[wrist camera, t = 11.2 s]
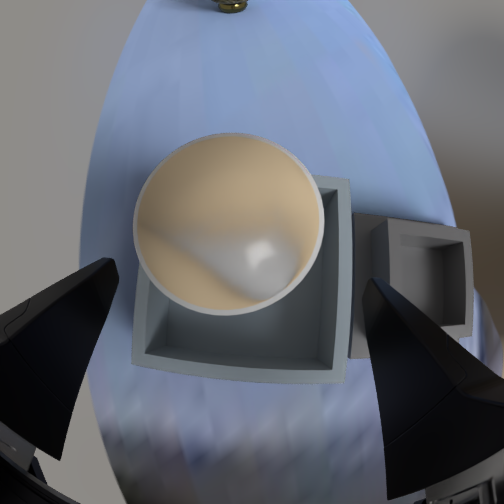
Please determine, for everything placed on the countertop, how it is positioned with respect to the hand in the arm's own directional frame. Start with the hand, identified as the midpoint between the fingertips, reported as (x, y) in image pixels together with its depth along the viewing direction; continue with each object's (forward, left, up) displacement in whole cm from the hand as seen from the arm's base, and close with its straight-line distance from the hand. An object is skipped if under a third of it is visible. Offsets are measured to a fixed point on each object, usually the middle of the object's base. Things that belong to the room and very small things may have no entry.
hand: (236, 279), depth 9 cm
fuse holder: (+1, -11, -8) cm, 13 cm away
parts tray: (+1, 0, -8) cm, 8 cm away
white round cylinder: (+1, 0, -7) cm, 7 cm away
